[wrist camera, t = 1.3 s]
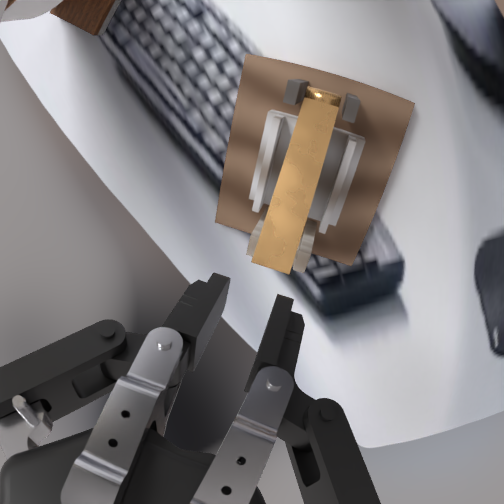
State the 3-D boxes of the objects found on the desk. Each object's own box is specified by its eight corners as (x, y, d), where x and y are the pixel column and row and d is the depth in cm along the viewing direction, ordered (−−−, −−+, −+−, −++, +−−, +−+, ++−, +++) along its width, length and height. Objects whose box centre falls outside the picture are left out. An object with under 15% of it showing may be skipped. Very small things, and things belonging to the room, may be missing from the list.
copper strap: (307, 91, 25) (308, 82, 24) (340, 101, 25) (342, 92, 23) (253, 261, 25) (250, 261, 24) (289, 273, 25) (289, 274, 23)
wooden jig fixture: (249, 54, 29) (221, 49, 22) (411, 102, 27) (433, 111, 20) (219, 217, 41) (191, 251, 34) (351, 259, 39) (350, 304, 32)
